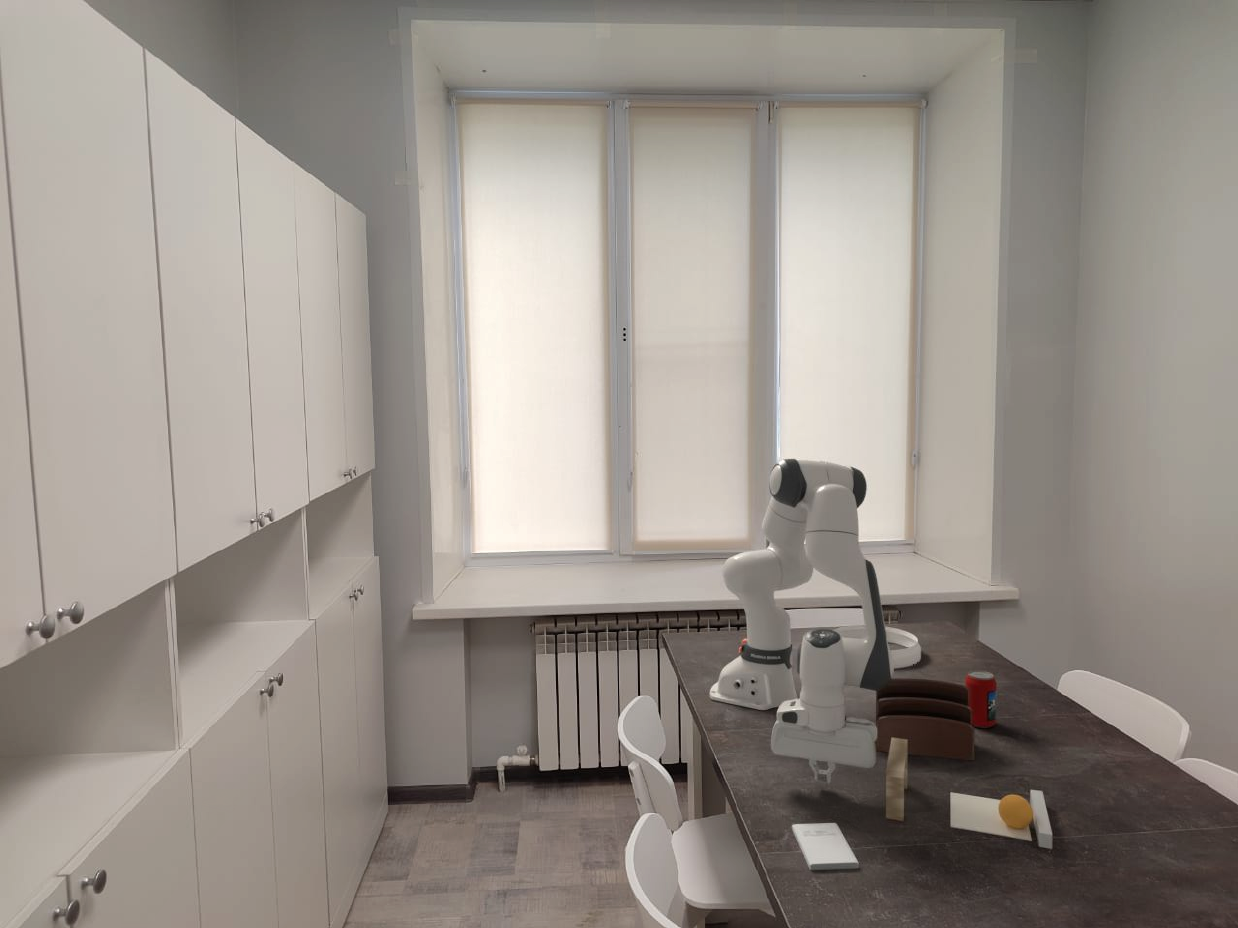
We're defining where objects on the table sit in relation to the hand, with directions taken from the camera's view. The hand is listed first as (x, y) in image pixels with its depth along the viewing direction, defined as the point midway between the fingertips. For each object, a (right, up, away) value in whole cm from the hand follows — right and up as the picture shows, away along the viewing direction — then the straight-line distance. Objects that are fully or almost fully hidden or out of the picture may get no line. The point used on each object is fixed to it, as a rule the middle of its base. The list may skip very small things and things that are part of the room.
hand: (822, 780), depth 157 cm
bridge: (+13, -2, -5) cm, 14 cm away
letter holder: (+27, 0, +18) cm, 32 cm away
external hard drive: (-5, -4, -20) cm, 21 cm away
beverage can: (+45, +2, +29) cm, 53 cm away
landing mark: (+28, -2, -11) cm, 30 cm away
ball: (+31, +1, -15) cm, 34 cm away
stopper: (+36, -2, -15) cm, 39 cm away
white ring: (+36, +5, +81) cm, 89 cm away
